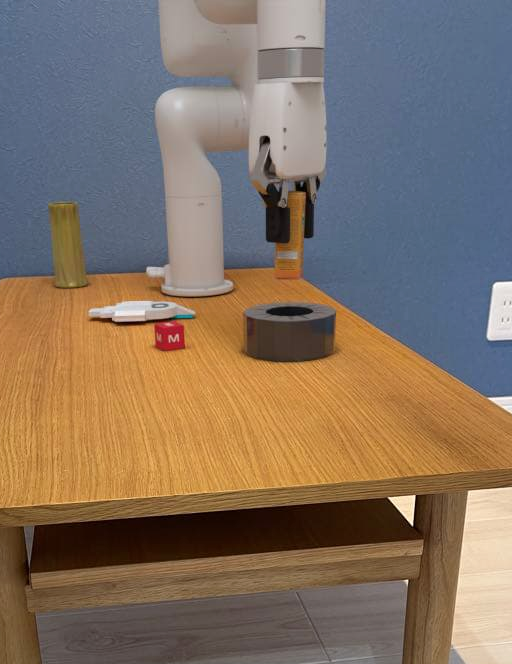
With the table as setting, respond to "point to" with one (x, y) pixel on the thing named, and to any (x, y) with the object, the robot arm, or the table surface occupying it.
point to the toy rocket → (142, 311)
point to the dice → (169, 335)
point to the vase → (67, 245)
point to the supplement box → (292, 241)
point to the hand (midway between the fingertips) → (289, 238)
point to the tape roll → (289, 331)
